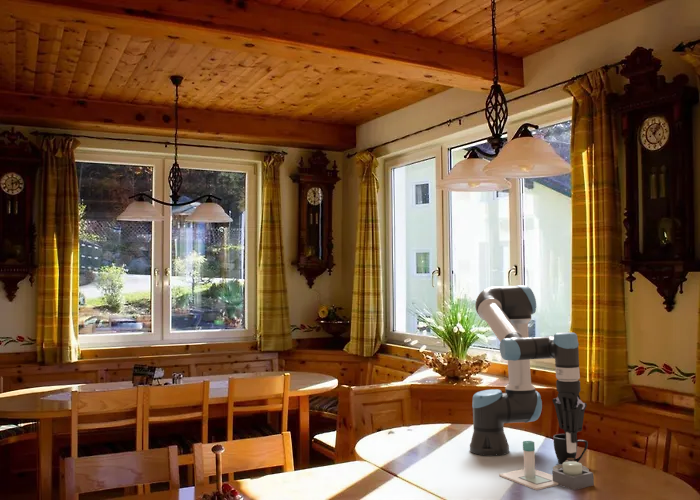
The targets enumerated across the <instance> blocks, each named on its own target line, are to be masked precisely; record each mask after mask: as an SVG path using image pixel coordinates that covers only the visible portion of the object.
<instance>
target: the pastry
mask: <svg viewBox="0 0 700 500" xmlns="http://www.w3.org/2000/svg"><path fill="white" fill-rule="evenodd" d="M568 461H573V462H577V461H574V458H567V460H566V461H565V462H568ZM562 468H563V464H560V463H559V464H556V465H553V467H552V471H553V470H557V469H562ZM582 469H583V470H586V471H589V472H590V470H589V468H588V467H587V466H584V465H582Z"/></svg>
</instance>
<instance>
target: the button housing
mask: <svg viewBox="0 0 700 500" xmlns="http://www.w3.org/2000/svg"><path fill="white" fill-rule="evenodd" d="M551 475H553V481H554V482H557V483H558V485H557V486H560V487H563V488H567V489H569V490H572V491H576V490H580V489H584V488H589V487H593V486H595V482H594V481H595V478H594V472H592V471H590V470H589V471H586V470H583V469H582V474H580V475H576V476H571V475H568V474H565V473H563V468H560V469H557V470H553V469H552V474H551Z"/></svg>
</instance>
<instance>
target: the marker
mask: <svg viewBox="0 0 700 500" xmlns="http://www.w3.org/2000/svg"><path fill="white" fill-rule="evenodd" d="M535 450H536V449H535V441H532V440H523V442H522V451H523V469H524V476H525V477H526V478H535V477H536V476H535V469H536V464H535V463H536V457H535V456H536V455H535Z"/></svg>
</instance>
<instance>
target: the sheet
mask: <svg viewBox="0 0 700 500" xmlns="http://www.w3.org/2000/svg"><path fill="white" fill-rule="evenodd" d="M498 476H499V477H501V478H504V479H506V480H508V481H509V480H510V481H512V482H514V483H516V484H519V485H522V486H525V487H526V488H530V489H534V490H535V491H538V490H542V489H547V488H552V487H555V486H559V485H558V483H557V482H554V481H553V475H552V474H550V473H547V472H544V471H541V470H538V469H536V468H535V476H536V477H535V478H526V477H525V476H524V468H521V469H517V470H512V471H508V472H503V473H499V474H498Z"/></svg>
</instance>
